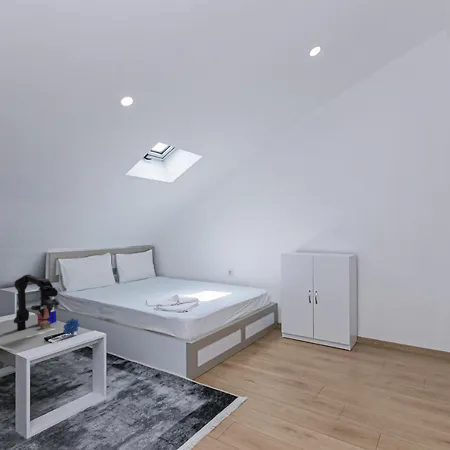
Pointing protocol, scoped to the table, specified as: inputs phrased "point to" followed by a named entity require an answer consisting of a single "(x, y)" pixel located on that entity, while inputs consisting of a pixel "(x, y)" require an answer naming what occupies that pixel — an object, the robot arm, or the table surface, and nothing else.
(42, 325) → the tan cardboard cube
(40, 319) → the puzzle cube
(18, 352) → the table surface
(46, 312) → the pawn
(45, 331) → the board
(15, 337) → the table surface
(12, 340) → the table surface
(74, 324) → the grapes
